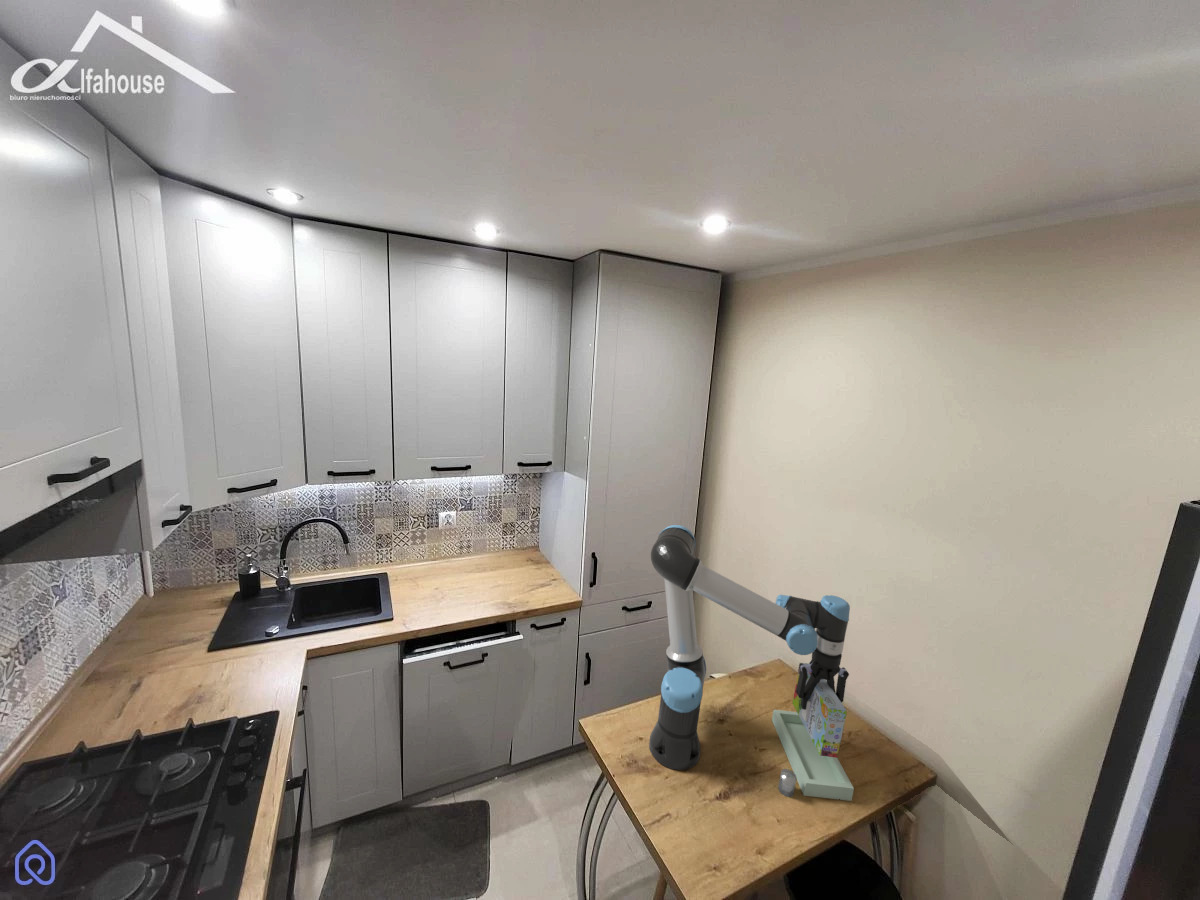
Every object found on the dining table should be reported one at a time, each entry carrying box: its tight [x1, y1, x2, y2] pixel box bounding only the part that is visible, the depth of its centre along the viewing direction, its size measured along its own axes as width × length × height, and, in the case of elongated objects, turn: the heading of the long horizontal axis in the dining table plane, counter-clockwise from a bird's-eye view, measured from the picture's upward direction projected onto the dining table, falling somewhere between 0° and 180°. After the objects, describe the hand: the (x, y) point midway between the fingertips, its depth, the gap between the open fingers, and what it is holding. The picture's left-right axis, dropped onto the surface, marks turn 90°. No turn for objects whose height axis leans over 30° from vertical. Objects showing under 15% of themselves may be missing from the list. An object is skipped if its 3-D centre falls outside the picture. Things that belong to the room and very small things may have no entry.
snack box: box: [792, 662, 848, 758], centre depth 139 cm, size 21×6×15 cm, turn 178°
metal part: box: [777, 768, 797, 798], centre depth 129 cm, size 4×4×5 cm
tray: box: [771, 709, 855, 802], centre depth 142 cm, size 13×28×4 cm, turn 177°
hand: (815, 718), depth 140 cm, fingers closed on snack box, 6 cm apart
